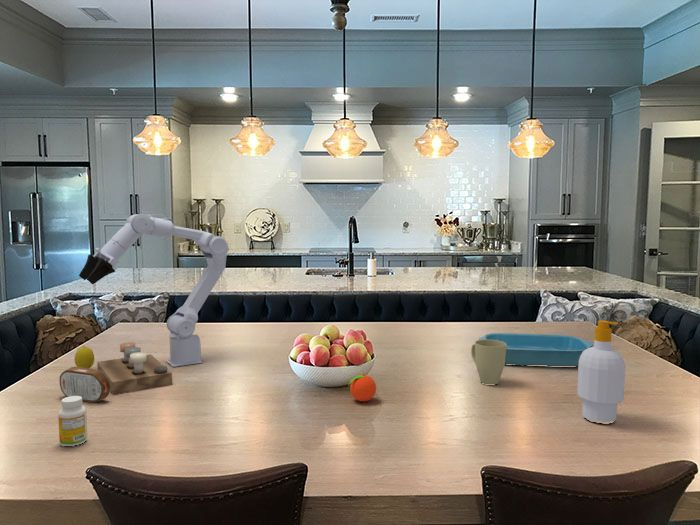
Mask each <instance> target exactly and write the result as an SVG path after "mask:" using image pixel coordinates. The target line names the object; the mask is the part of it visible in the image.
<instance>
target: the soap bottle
mask: <svg viewBox="0 0 700 525" xmlns="http://www.w3.org/2000/svg"><path fill="white" fill-rule="evenodd" d="M610 325H619V322H615V321H608V320H602V319H601V320H597V326H595V327H594V338H593V341H594V343H593V347H591V348H588V349H586V350H584V351H583V352H582V354H581V356H580V359H579V366H578V367H577V369H578V371H577V389H576V390H577V391H576V392H577V396H578V397H579V398H581V399H582V408H581V409H582V410H581V411H582V413H581V414H582V415H583V416H584V417H585V418H588V419H590V420H594V421H602V422H610V421H614V420H616V421H617V415H618V414H617V413H618V404H621V403H622V402H624V400H625V384H626V383H625V381H626V380H625V379H626V364H625V360H624V358H623V356H622V354H621V353H620V352H618V351H617V350H615V349H614V348H611V347H612V331H613V330H612V328H611V327H610ZM583 416H582V417H583Z"/></svg>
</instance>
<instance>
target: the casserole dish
mask: <svg viewBox="0 0 700 525" xmlns="http://www.w3.org/2000/svg"><path fill="white" fill-rule="evenodd" d="M486 339H487V340H498V341H502V342H505V343H506V344H507V346H506V356H505V364H515V365H547V366H578V365H579V359H580V356H581V354H582V352H583V351H584V350H586V349H588V348H591V347H594V343H593V342H591V341H590V340H586V339H583V338H581V337H578V336H573V335H564V334H543V333H541V334H539V333H537V334H536V333H514V332H513V333H508V332H507V333H506V332H500V333H498V332H494V333H487V334H485V335H483V336H482V337H479V338H478V340H486Z"/></svg>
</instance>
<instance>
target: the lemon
mask: <svg viewBox="0 0 700 525" xmlns="http://www.w3.org/2000/svg"><path fill="white" fill-rule="evenodd" d="M94 363H95V353H94V351H93V350H92V348H90V347H87V346H85V345H83V346H81V347H80V348H79V349H77V351H76V352H75V355H74V364H75V367H81V368H88V369H91V368H92V367H93V365H94Z"/></svg>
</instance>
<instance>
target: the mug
mask: <svg viewBox="0 0 700 525" xmlns="http://www.w3.org/2000/svg"><path fill="white" fill-rule="evenodd" d="M506 346H507V344H506V343H505V342H502V341H498V340H487V339H486V340H479V339H478V340H475V341H474V343H473V344H472V346H471V350H470V351H471V357H472V360H473V362H474V364H475V366H476V371H477V373H478V376H479V380H480V383H481V382H482V383H484V384H497V383H498V384H499V382H500V379H501V378H502V377H501V376H502V373H503V371H504V369H505V365H504V364H505V356H506ZM482 383H481V384H482ZM484 384H483V385H484Z"/></svg>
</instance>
